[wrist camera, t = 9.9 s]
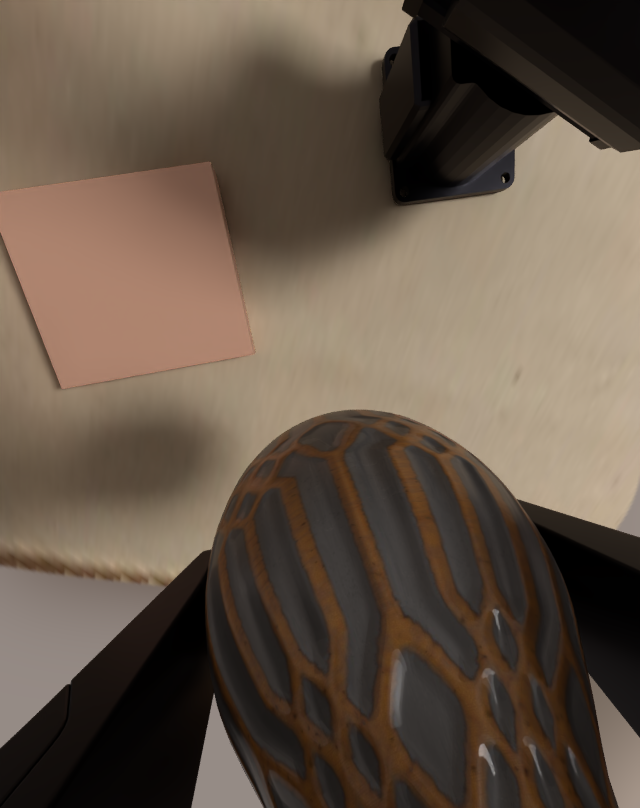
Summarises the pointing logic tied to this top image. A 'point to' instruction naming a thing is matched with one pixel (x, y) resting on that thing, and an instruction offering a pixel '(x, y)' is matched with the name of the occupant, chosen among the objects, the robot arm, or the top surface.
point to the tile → (128, 272)
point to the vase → (395, 630)
